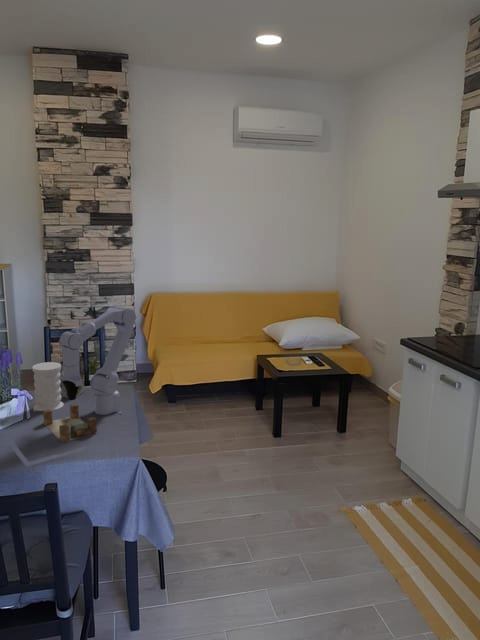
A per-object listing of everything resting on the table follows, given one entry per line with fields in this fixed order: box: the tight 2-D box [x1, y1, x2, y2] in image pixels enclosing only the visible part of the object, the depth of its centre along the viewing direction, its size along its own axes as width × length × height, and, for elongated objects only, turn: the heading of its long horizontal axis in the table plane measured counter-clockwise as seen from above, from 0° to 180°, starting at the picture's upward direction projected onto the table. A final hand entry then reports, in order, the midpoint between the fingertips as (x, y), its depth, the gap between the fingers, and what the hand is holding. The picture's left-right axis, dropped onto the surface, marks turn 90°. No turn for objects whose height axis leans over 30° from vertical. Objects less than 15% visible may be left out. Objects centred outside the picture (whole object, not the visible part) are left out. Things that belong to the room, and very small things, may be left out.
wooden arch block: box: [75, 416, 98, 437], centre depth 176 cm, size 7×2×5 cm, turn 129°
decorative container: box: [31, 361, 64, 412], centre depth 200 cm, size 12×12×18 cm
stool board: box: [42, 403, 98, 443], centre depth 181 cm, size 13×20×6 cm, turn 39°
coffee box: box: [60, 356, 85, 399], centre depth 217 cm, size 9×6×16 cm
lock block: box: [69, 419, 85, 433], centre depth 178 cm, size 4×4×4 cm
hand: (72, 399), depth 185 cm, fingers closed
